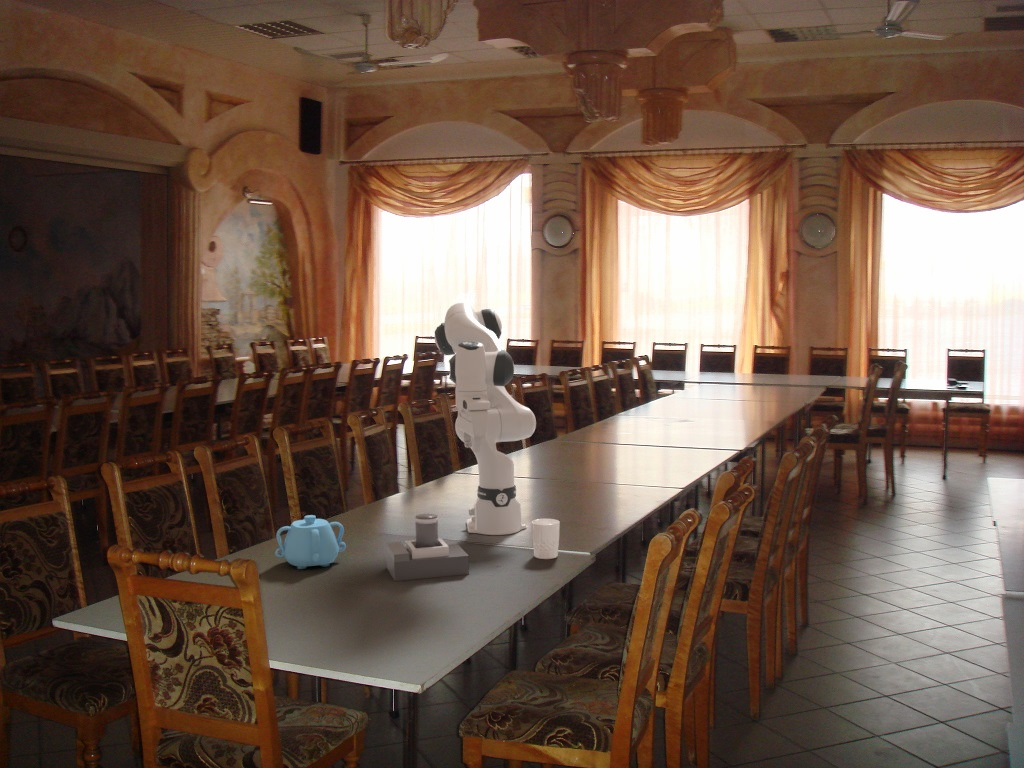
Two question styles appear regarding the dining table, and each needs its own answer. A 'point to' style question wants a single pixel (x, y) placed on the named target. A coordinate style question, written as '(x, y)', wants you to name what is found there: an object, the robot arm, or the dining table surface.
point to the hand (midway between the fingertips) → (472, 449)
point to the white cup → (545, 538)
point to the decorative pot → (310, 542)
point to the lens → (426, 530)
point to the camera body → (425, 560)
